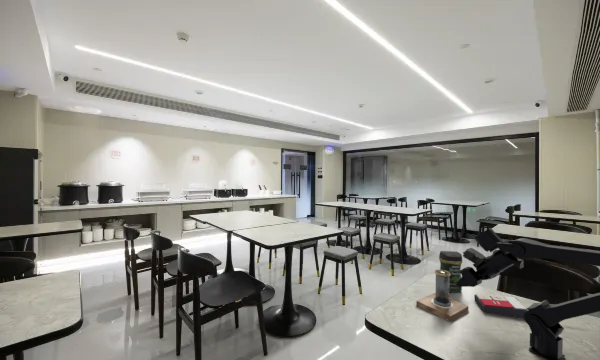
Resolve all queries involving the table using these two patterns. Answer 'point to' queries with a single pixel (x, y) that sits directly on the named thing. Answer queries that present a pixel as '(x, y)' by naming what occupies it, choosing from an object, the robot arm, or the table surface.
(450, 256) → the coffee jar
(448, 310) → the stand
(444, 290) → the housing
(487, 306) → the red and white box
